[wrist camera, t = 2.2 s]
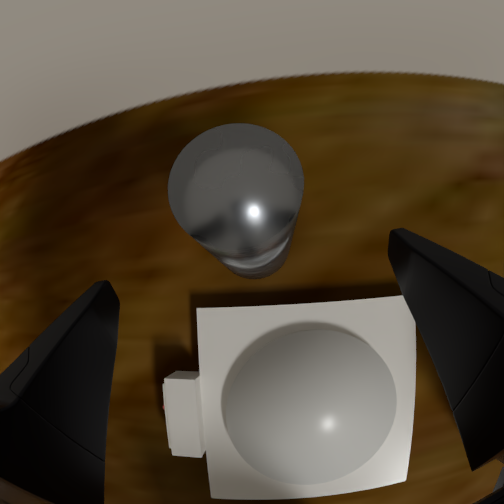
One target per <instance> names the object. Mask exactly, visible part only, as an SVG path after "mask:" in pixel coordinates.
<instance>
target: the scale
mask: <svg viewBox="0 0 504 504" xmlns="http://www.w3.org/2000/svg"><path fill="white" fill-rule="evenodd" d="M197 332H198V353H199V370H200V372H197V371H176V372H174V373H172V374H171V375H169V376H167V377H166V378H164V384H163V396H164V405H163V409H165V416H166V425H167V434H168V442H169V448H171V450H172V455H174V456H185V457H197V458H202V456H203V454H204V452H205V450H206V457H207V466H208V475H209V484H210V492H211V498H216V499H238V500H272V499H294V498H308V497H318V496H327V495H335V494H343V493H349V492H355V491H361V490H367V489H372V488H377V487H382V486H386V485H391V484H395V483H399V482H403V481H406V477H407V470H408V463H409V456H410V448H411V439H412V429H413V418H414V403H415V382H416V325H415V320H414V318H413V316H412V314H411V312H410V310H409V308H408V306H407V304H406V301H405V299H404V297H403V295H402V296H392V297H382V298H371V299H359V300H347V301H335V302H321V303H306V304H289V305H271V306H249V307H220V308H197Z"/></svg>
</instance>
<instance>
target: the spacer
mask: <svg viewBox="0 0 504 504" xmlns="http://www.w3.org/2000/svg"><path fill="white" fill-rule="evenodd" d="M303 189H304V176H303V171H302V167H301V164H300V161H299V159H298V157H297V155H296V153H295V152H294V150H293V149H292V147H291V146H290V145H289V144H288V143H287V142H286V141H285V140H284V139H283V138H281V137H280V136H279V135H277V134H276V133H274V132H272V131H270V130H268V129H266V128H263V127H260V126H257V125H252V124H244V123H234V124H226V125H222V126H218V127H215V128H212V129H210V130H207V131H206V132H204V133H202V134H200V135H199V136H197V137H196V138H194V139H193V140H192V141H191V142H190V143H188V144H187V145H186V147H185V148H184V149H183V150H182V151H181V153H180V154H179V155H178V157H177V159H176V160H175V162H174V164H173V167H172V169H171V172H170V176H169V181H168V198H169V203H170V207H171V210H172V212H173V214H174V216H175V218H176V220H177V221H178V223H179V224H180V226H181V227H182V228H183V229H184V230H185V231H186V232H187V233H188V234H189V235H190V236H192V237H193V238H194V239H195V240H196V241H197V242H198V243H199V244H201V245H202V246H203V247H204V248H205V249H206V250H207V251H209V252H210V253H211V254H212V255H213V256H214V257H215V258H217V259H218V260H219V261H220V262H221V263H222V264H224V265H225V266H226V267H227V268H228V269H229V270H231V271H232V272H233V273H234V274H236V275H238V276H240V277H243V278H246V279H261V278H265V277H268V276H270V275H272V274H274V273H275V272H276V271H278V270H279V269H280V268H281V266H282V265H283V264H284V262H285V261H286V259H287V256H288V253H289V249H290V245H291V241H292V237H293V233H294V229H295V225H296V221H297V217H298V212H299V208H300V204H301V200H302V196H303Z"/></svg>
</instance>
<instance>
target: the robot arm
mask: <svg viewBox="0 0 504 504" xmlns="http://www.w3.org/2000/svg"><path fill="white" fill-rule="evenodd" d="M388 257H389V260H390V263H391V265H392V268H393V271H394V273H395V276H396V278H397V281H398V284H399V286H400V289H401V292H402V294H403V297H404V299H405V301H406V304H407V306H408V308H409V310H410V312H411V314H412V316H413V318H414V320H415V322H416V324H417V327H418V329H419V331H420V333H421V335H422V337H423V340H424V342H425V344H426V346H427V349H428V351H429V353H430V356H431V358H432V360H433V363H434V365H435V367H436V370H437V372H438V375H439V377H440V380H441V382H442V385H443V387H444V390H445V392H446V395H447V398H448V400H449V403H450V406H451V409H452V411H453V415H454V417H455V420H456V423H457V426H458V429H459V432H460V435H461V438H462V441H463V444H464V448H465V451H466V454H467V457H468V461H469V464H470V467H471V470H472V471H474V470H476V469H478V468H480V467H482V466H484V465H485V464H487V463H489V462H491V461H492V460H494V459H496V458H498V457H499V456H501V455H503V454H504V278H503V277H501V276H499V275H497V274H495V273H493V272H491V271H488V270H487V269H486V268H484V267H482V266H480V265H478V264H476V263H474V262H472V261H470V260H468V259H466V258H465V257H463V256H461V255H459V254H457V253H455V252H453V251H451V250H449V249H446V248H444V247H442V246H440V245H438V244H436V243H434V242H432V241H430V240H428V239H426V238H424V237H421V236H419V235H417V234H415V233H413V232H411V231H408V230H406V229H404V228H398V229H393V230H391V231H390V235H389V245H388ZM119 309H120V302H119V299H118V297H117V295H116V293H115V291H114V289H113V287H112V286H111V284H110V282H109V281H107V280H104V281H98V282H96V283H94V284H93V285H92V286H91V287H90V288H89V289H88V290H87V291H86V292H85V293H83V294H82V295H81V296H80V297H79V298H78V299H77V300H76V301H75V302H74V303H73V304H72V305H71V306H70V307H68V308H67V309H66V310H65V311H64V312H63V313H62V314H61V315H60V316H59V317H58V318H57V319H56V320H55V321H54V322H53V323H52V324H51V325H50V326H49V327H48V328H47V329H46V330H45V331H44V332H43V333H42V334H41V335H40V336H39V337H38V338H37V339H36V340H35V341H34V342H33V343H32V344H31V345H30V347H28V348H27V349H26V350H25V351H24V352H23V353H22V354H21V355H20V356H19V357H18V358H17V359H16V360H15V361H14V362H13V363H12V364H11V365H10V366H9V367H8V368H7V369H6V370H5V371H4V372H2V373H1V374H0V504H104V477H105V450H106V435H107V423H108V412H109V402H110V393H111V385H112V377H113V370H114V363H115V356H116V349H117V339H118V323H119ZM473 504H504V467H503V468H502V470H501V473H500V475H499V478H498V481H497V483H496V485H495V488H494V490H493V493H491V494H489V495H487V496H486V497H484V498H482V499H480V500H479V501H477V502H475V503H473Z"/></svg>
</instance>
